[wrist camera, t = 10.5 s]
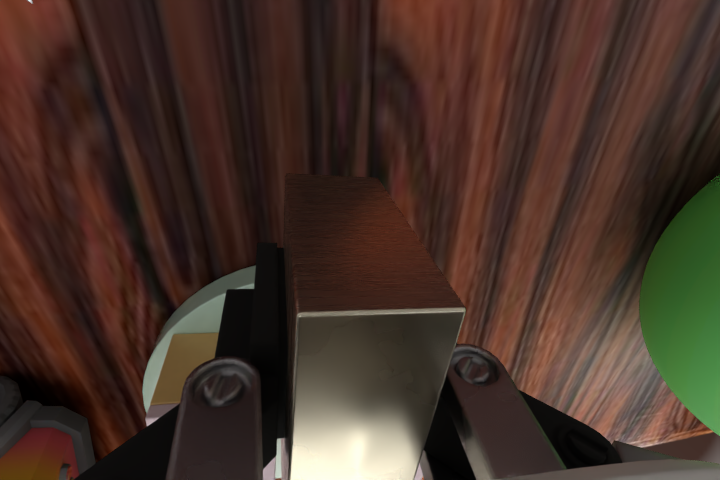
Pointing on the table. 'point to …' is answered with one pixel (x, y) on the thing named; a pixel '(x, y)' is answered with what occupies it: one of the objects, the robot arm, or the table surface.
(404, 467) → the cake knife
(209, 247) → the table surface
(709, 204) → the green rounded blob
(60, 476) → the toy car
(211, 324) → the cake plate
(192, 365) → the cake piece
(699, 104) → the table surface
